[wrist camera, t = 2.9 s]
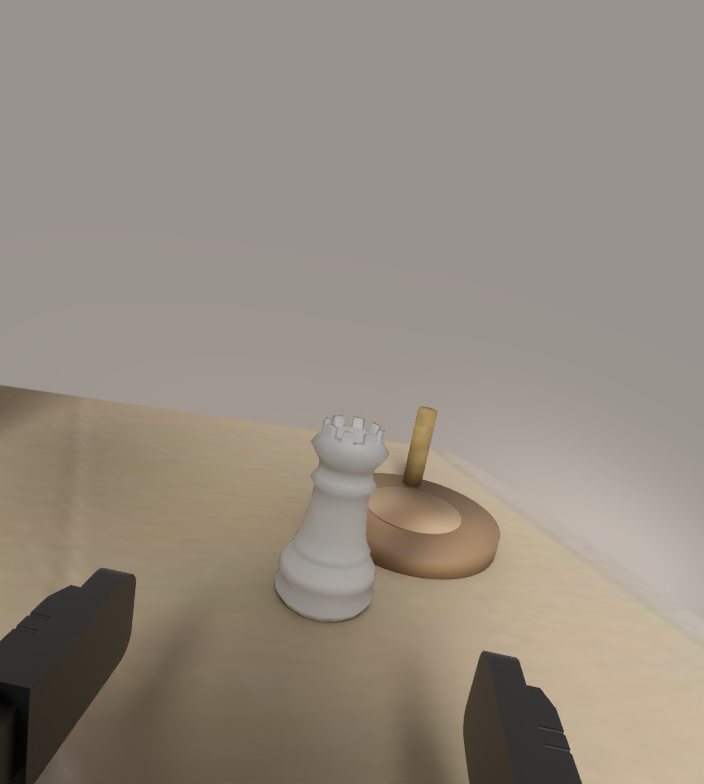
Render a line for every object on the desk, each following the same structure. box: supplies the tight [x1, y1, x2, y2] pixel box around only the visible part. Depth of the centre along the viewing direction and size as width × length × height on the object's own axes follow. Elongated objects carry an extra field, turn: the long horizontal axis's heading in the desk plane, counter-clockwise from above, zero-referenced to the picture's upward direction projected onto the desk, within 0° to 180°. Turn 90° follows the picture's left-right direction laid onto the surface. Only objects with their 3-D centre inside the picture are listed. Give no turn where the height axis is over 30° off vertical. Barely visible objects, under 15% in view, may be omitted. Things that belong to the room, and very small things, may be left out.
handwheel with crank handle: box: [366, 407, 500, 579], centre depth 31 cm, size 10×10×6 cm
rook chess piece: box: [274, 415, 389, 622], centre depth 24 cm, size 4×4×8 cm
